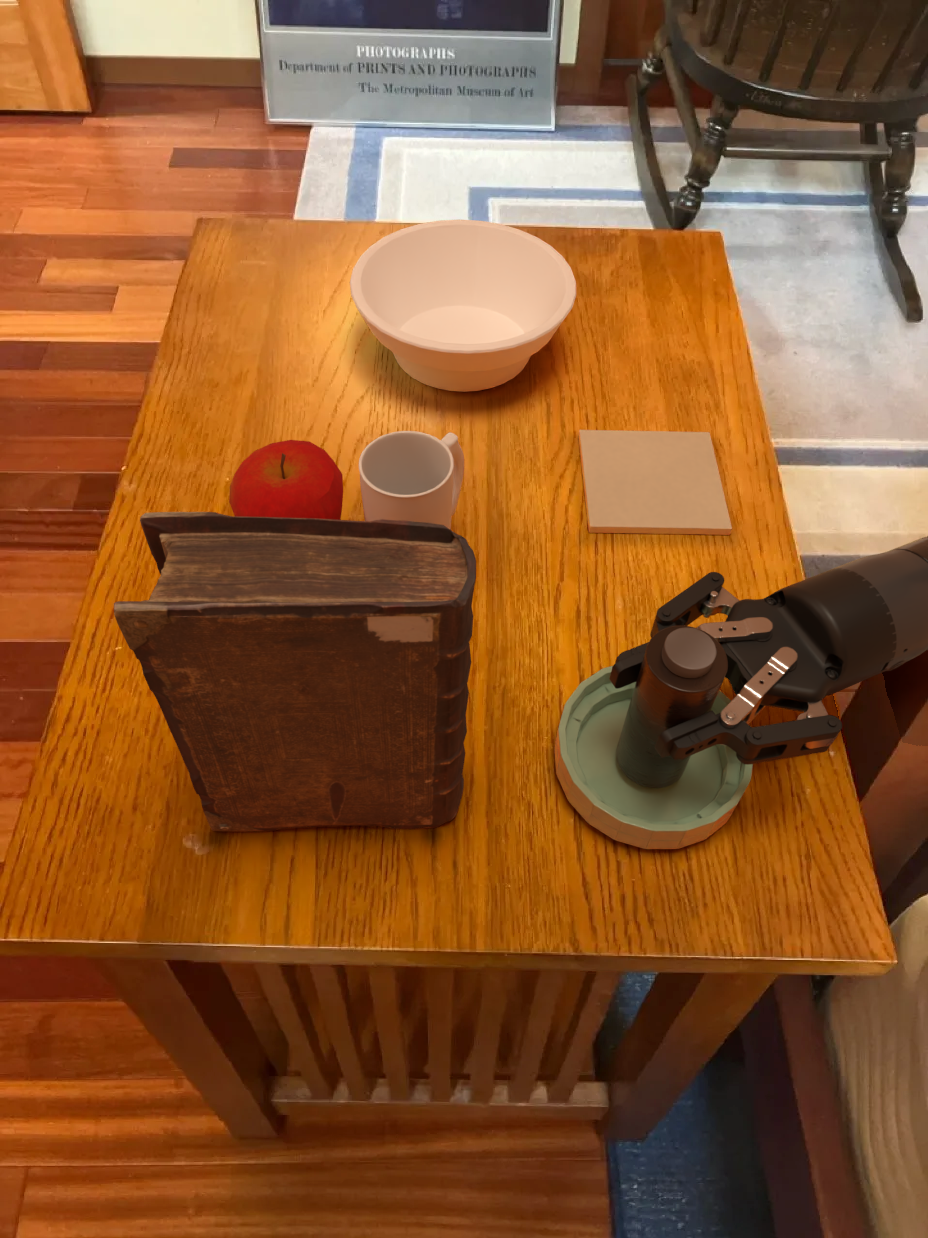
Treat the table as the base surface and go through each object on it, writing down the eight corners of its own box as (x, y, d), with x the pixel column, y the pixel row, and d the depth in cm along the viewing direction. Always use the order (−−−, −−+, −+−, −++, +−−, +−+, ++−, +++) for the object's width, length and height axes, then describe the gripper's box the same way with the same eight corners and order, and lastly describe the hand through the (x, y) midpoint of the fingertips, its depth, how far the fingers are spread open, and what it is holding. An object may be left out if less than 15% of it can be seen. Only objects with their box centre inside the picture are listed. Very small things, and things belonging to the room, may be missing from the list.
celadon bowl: (769, 746, 66) (784, 721, 64) (687, 891, 60) (699, 870, 57) (611, 658, 71) (618, 631, 68) (518, 784, 64) (522, 760, 61)
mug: (415, 618, 73) (411, 511, 63) (351, 576, 75) (338, 467, 65) (492, 543, 78) (500, 433, 68) (430, 506, 80) (429, 395, 70)
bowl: (333, 408, 87) (324, 334, 81) (380, 280, 100) (376, 207, 93) (556, 436, 86) (566, 363, 79) (575, 303, 98) (585, 230, 92)
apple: (297, 507, 79) (277, 398, 70) (373, 552, 77) (364, 444, 67) (225, 569, 75) (195, 462, 66) (304, 618, 72) (283, 514, 63)
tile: (707, 438, 86) (709, 431, 85) (730, 535, 79) (732, 528, 78) (578, 435, 86) (579, 429, 85) (588, 532, 78) (589, 526, 78)
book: (467, 765, 65) (481, 521, 45) (458, 861, 61) (468, 639, 41) (232, 743, 66) (142, 492, 46) (206, 837, 61) (95, 606, 41)
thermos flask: (697, 750, 64) (746, 640, 54) (665, 801, 62) (709, 696, 52) (636, 715, 66) (672, 602, 56) (603, 764, 64) (634, 655, 53)
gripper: (806, 509, 63) (586, 589, 58) (958, 670, 55) (716, 778, 50) (774, 580, 68) (572, 658, 64) (907, 734, 61) (687, 836, 56)
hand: (637, 710), depth 57 cm, fingers closed on thermos flask, 5 cm apart
